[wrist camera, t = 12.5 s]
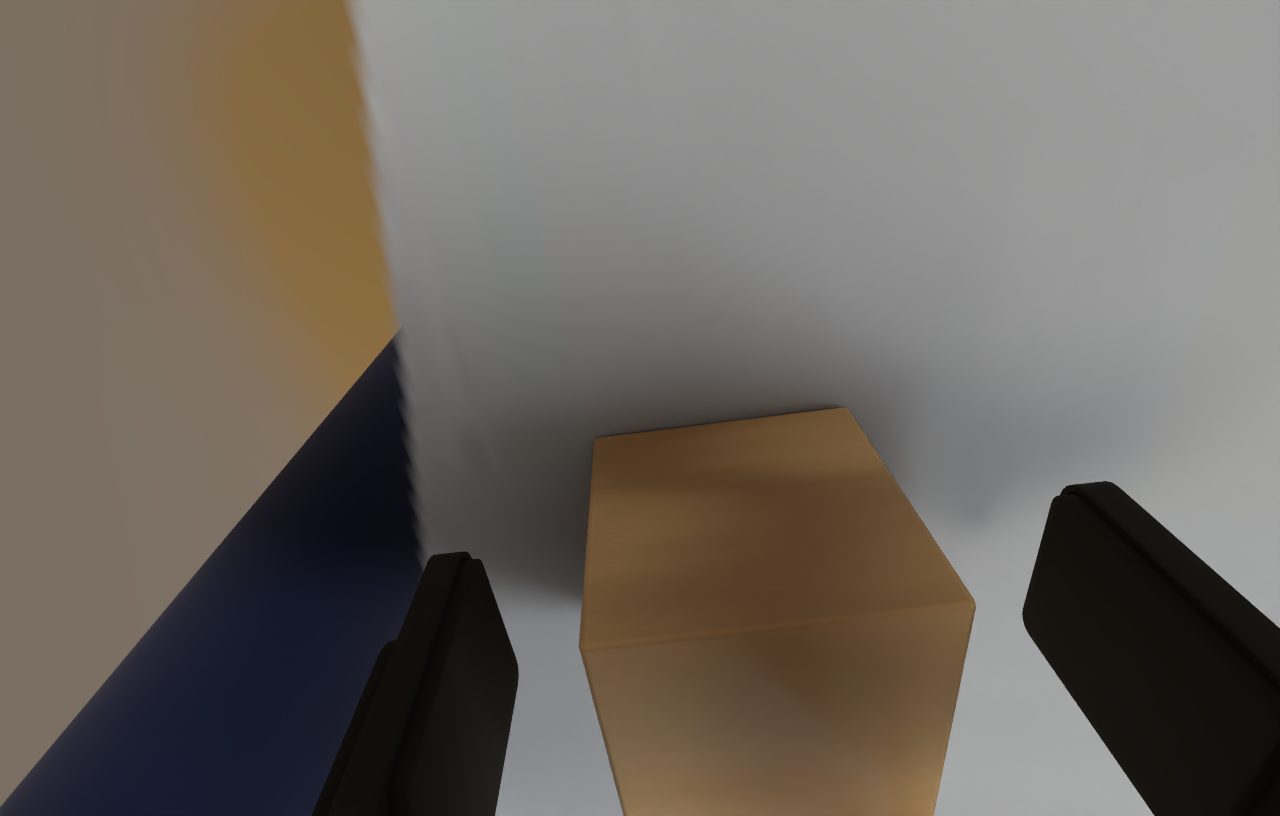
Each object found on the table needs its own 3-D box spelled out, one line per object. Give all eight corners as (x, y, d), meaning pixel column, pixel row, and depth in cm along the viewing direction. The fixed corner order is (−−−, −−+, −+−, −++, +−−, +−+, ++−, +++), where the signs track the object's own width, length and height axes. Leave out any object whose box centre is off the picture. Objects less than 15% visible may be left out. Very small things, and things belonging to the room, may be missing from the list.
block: (628, 613, 13) (630, 849, 9) (593, 436, 11) (576, 648, 7) (839, 589, 13) (935, 819, 9) (848, 404, 11) (981, 603, 7)
